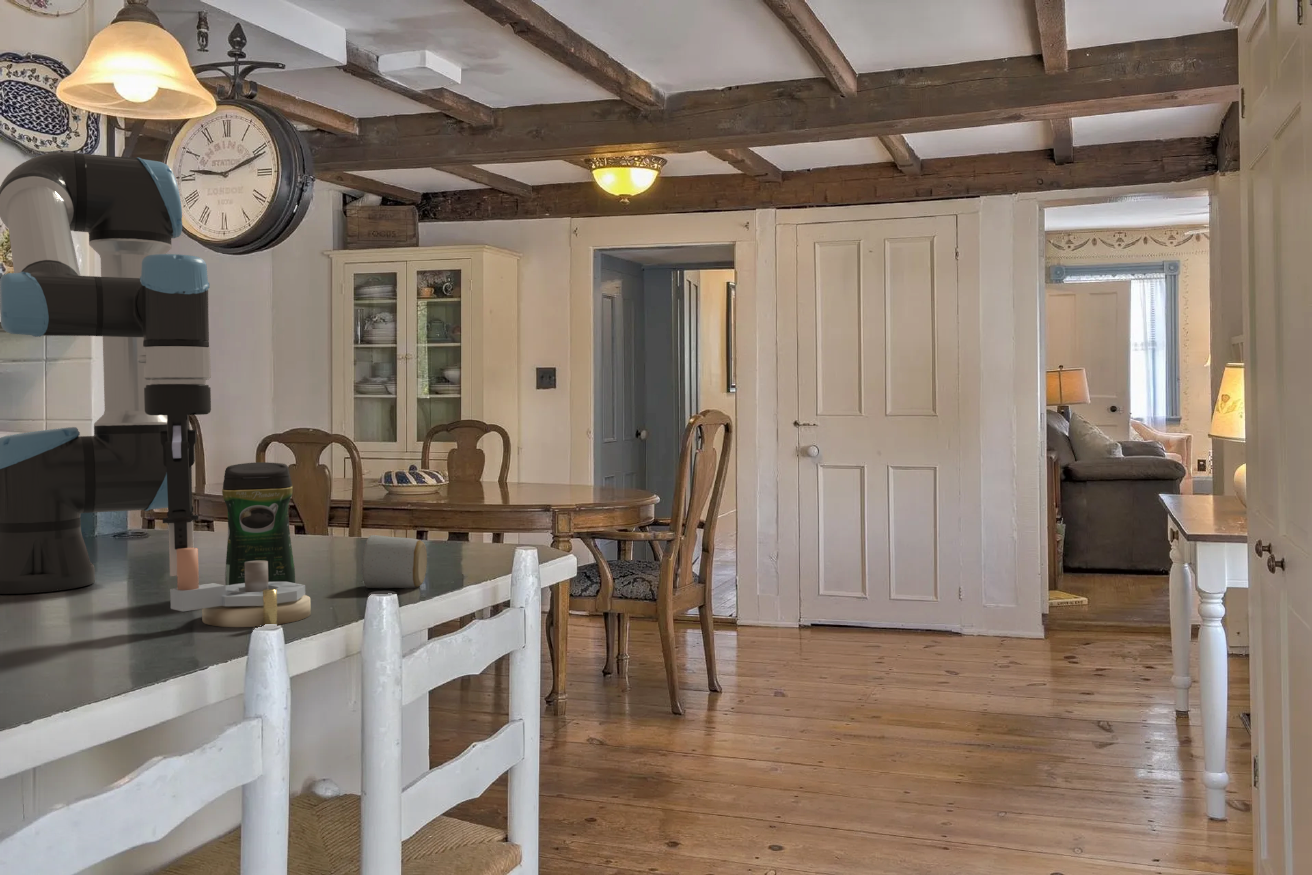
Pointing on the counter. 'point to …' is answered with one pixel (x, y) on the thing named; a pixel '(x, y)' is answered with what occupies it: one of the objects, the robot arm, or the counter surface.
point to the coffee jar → (258, 520)
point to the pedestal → (254, 614)
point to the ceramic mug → (393, 562)
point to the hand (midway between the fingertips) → (182, 574)
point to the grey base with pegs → (219, 588)
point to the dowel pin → (270, 606)
